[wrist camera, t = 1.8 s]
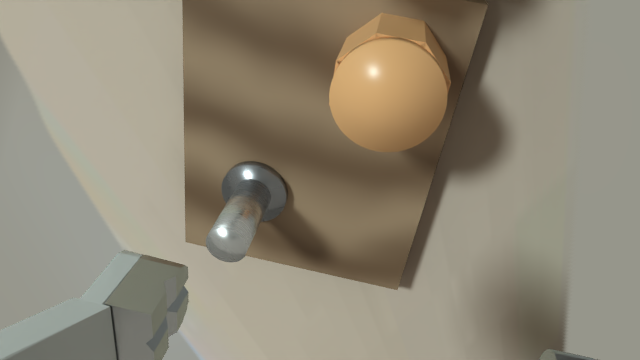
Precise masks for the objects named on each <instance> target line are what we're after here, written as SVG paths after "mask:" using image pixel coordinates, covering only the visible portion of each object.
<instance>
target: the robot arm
mask: <svg viewBox="0 0 640 360" xmlns="http://www.w3.org/2000/svg"><path fill="white" fill-rule="evenodd" d="M187 279H188V267H187V266H185V265H183V264H179V263H175V262H171V261H167V260H163V259H159V258H155V257H151V256H148V255H142V254H138V253H134V252H130V251H127V250H123V251H122V252H120V253H118V254H117V255H116V256H115V258H114V259H113V260H112V261H111V262H110V263H109V265H108V266H107V267H106V268H105V269H104V271H103V272H102V273H101V274H100V275H99V277H98V278H97V279H96V280H95V281H94V283H93V284H92V285H91V286H90V287H89V288H88V290H87V291H86V292H85V293H84V294H83V296H82V297H81V298H80V299H78V298H71V299H69V300H67V301H65V302H62V303H60V304H58V305H56V306H53V307H52V308H49V309H47V310H45V311H42V312H40V313H38V314H35V315H33V316H31V317H29V318H27V319H24V320H22V321H20V322H18V323H16V324H14V325H11V326H9V327H6V328H4V329H2V330H0V360H162V358H163V357H164V355H165V353H166V351H167V349H168V337H169V336H171V335H173V334H174V333H176V332H177V331H178V329H179V327H180V325H181V324H182V322H183V319H184V316H185V313H186V310H187V305H188V291H187V290H186V288H185V287H184V284H185V283H186V281H187ZM539 360H598V359H593V358H589V357H584V356H580V355H575V354H571V353H566V352H562V351H557V350H552V349H547V350H546V351H544V352H543V353H542V355H541V357H540V358H539Z"/></svg>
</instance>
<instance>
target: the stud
mask: <svg viewBox="0 0 640 360" xmlns="http://www.w3.org/2000/svg"><path fill="white" fill-rule="evenodd" d="M221 190H222V196H223V199H224V201H225V203H226V205H225V207H224V209H223V210H222V212H221V214H220V215H219V217H218V219H217V220H216V222H215V224H214V225H213V227H212V229H211V230H210V232H209V233H208V235H207V237H206V246H207V248H208V250H209V252H210V253H211V254H212V255H213V256H215V257H216V258H218V259H219V260H222V261H225V262H237V261H239V260H241V259H242V258H243V257H244V256H245V255H246V252H247V250H248V248H249V246H250V244H251V242H252V240H253V237H254V235H255V233H256V231H257V229H258V227H259V225H260V222H264V221H268V220H271V219H274V218H275V217H277V216H278V215H279V214H280V213H281V212H282V210H283V209H284V207H285V204H286V202H287V198H288V189H287V185H286V183H285V181H284V179H283V178H282V176H281V175H280V174H279V173H278V172H277V171H276V170H275V169H273V168H272V167H270V166H268V165H267V164H264V163H261V162H256V161H245V162H241V163H238V164H236V165H234V166H233V167H232V168H231V169H230V170H229V171H228V173H227V174H226V176H225V177H224V179H223V182H222V187H221Z"/></svg>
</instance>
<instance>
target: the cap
mask: <svg viewBox="0 0 640 360" xmlns="http://www.w3.org/2000/svg"><path fill="white" fill-rule="evenodd" d="M450 85H451V80H450V75H449V69H448V64H447V58H446V55H445V54H444V52H443V50H442V49H441V47H440V46H439V44H438V42H437V41H436V39H435V37H434V36H433V34H432V32H431V31H430V29H429V28H428V26H427V24H426V23H425V21H423V20H418V19H412V18H407V17H402V16H396V15H391V14H386V13H381V14H379V15H378V16H376V17H375V18H374V19H372V20H371V21H369V22H368V23H367V24H365V25H364V26H362V27H361V28H359V29H358V30H357V31H355V32H354V33H352V34H351V35H349V36H348V37H347V38H346V40H345V42H344V44H343V47H342V49H341V51H340V53H339V55H338V57H337V59H336V64H335V70H334V76H333V79H332V82H331V86H330V92H329V105H330V109H331V112H332V116H333V118H334V120H335V122H336V124H337V125H338V127H339V129H340V130H341V131H342V132H343V133H344V134H345V135H346V136H347V137H348V138H349V139H350V140H352V141H353V142H354V143H356V144H358V145H360V146H361V147H364V148H366V149H369V150H373V151H378V152H398V151H403V150H406V149H409V148H412V147H414V146H416V145H418V144H420V143H421V142H423V141H424V140H426V139H427V138H428V137H429V136H430V135H431V134H432V133H433V132H434V131H435V130H436V129H437V127H438V126H439V124H440V122H441V121H442V119H443V116H444V114H445V110H446V106H447V95H448V91H449V88H450Z"/></svg>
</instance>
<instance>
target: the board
mask: <svg viewBox="0 0 640 360" xmlns="http://www.w3.org/2000/svg"><path fill="white" fill-rule="evenodd" d="M487 7H488V4H487V2H486V1H485V0H183V77H184V153H185V229H186V242H188V243H192V244H197V245H201V246H206V237H207V235H208V233H209V232H210V230H211V229H212V227H213V225H214V224H215V222H216V220H217V219H218V217H219V215H220V214H221V212H222V210H223V209H224V207H225V205H226V203H225V201H224V199H223V196H222V190H221V187H222V182H223V179H224V177H225V176H226V174H227V173H228V171H229V170H230V169H231V168H232V167H233V166H234V165H236V164H238V163H241V162H245V161H256V162H261V163H264V164H267V165H268V166H270V167H272V168H273V169H275V170H276V171H277V172H278V173H279V174H280V175H281V176H282V178H283V179H284V181H285V183H286V185H287V189H288V198H287V202H286V204H285V207H284V209H283V210H282V212H281V213H280V214H279V215H278V216H277V217H275V218H274V219H271V220H268V221H264V222H260V225H259V227H258V229H257V231H256V233H255V235H254V237H253V240H252V242H251V244H250V246H249V248H248V250H247V252H246V255H245V256H250V257H254V258H259V259H263V260H267V261H272V262H276V263H281V264H285V265H289V266H294V267H298V268H303V269H307V270H311V271H316V272H320V273H325V274H329V275H333V276H338V277H342V278H347V279H351V280H355V281H360V282H364V283H369V284H373V285H378V286H382V287H386V288H391V289H395V290H398V286H399V283H400V280H401V277H402V274H403V271H404V268H405V265H406V261H407V258H408V255H409V252H410V249H411V246H412V243H413V239H414V236H415V233H416V230H417V227H418V224H419V221H420V217H421V214H422V211H423V208H424V205H425V202H426V199H427V195H428V192H429V189H430V186H431V183H432V180H433V177H434V174H435V170H436V167H437V164H438V161H439V158H440V155H441V152H442V148H443V145H444V142H445V139H446V136H447V133H448V130H449V126H450V123H451V120H452V117H453V114H454V111H455V108H456V105H457V101H458V98H459V95H460V92H461V89H462V86H463V83H464V79H465V76H466V73H467V70H468V67H469V64H470V61H471V57H472V54H473V51H474V48H475V45H476V42H477V39H478V35H479V32H480V29H481V26H482V23H483V20H484V17H485V14H486V10H487ZM381 13H386V14H391V15H396V16H402V17H407V18H412V19H418V20H423V21H425V23H426V24H427V26H428V28H429V29H430V31H431V32H432V34H433V36H434V37H435V39H436V41H437V42H438V44H439V46H440V47H441V49H442V50H443V52H444V54H445V55H446V58H447V64H448V69H449V75H450V80H451V85H450V88H449V91H448V95H447V106H446V110H445V114H444V116H443V119H442V121H441V122H440V124H439V126H438V127H437V129H436V130H435V131H434V132H433V133H432V134H431V135H430V136H429V137H428V138H427V139H426V140H424V141H423V142H421V143H420V144H418V145H416V146H414V147H412V148H409V149H406V150H403V151H398V152H378V151H373V150H369V149H366V148H364V147H361V146H360V145H358V144H356V143H354V142H353V141H352V140H350V139H349V138H348V137H347V136H346V135H345V134H344V133H343V132H342V131H341V130H340V129H339V127H338V125H337V124H336V122H335V120H334V118H333V116H332V112H331V109H330V105H329V92H330V86H331V82H332V79H333V76H334V70H335V64H336V59H337V57H338V55H339V53H340V51H341V49H342V47H343V44H344V42H345V40H346V38H347V37H348V36H349V35H351V34H352V33H354V32H355V31H357V30H358V29H359V28H361V27H362V26H364V25H365V24H367V23H368V22H369V21H371V20H372V19H374V18H375V17H376V16H378V15H379V14H381ZM206 247H207V246H206Z"/></svg>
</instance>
